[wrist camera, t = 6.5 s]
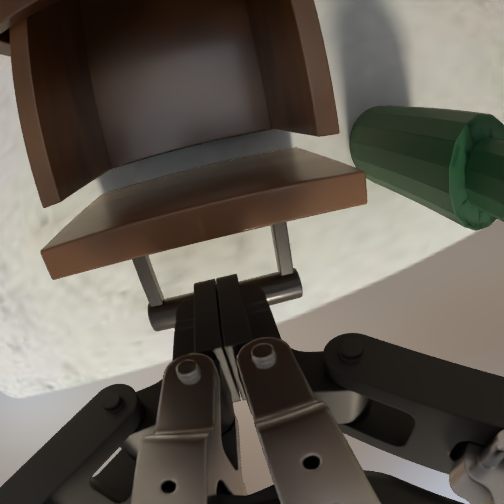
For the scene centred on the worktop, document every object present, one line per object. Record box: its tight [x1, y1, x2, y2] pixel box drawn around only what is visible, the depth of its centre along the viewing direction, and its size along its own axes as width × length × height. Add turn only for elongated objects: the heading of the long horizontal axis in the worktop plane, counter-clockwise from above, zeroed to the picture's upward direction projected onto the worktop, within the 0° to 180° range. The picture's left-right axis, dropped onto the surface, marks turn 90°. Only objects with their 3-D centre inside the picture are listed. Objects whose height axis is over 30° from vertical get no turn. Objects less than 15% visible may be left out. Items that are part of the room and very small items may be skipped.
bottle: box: [350, 106, 504, 230], centre depth 12 cm, size 5×5×13 cm
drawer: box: [9, 0, 367, 331], centre depth 11 cm, size 18×11×8 cm, turn 11°
